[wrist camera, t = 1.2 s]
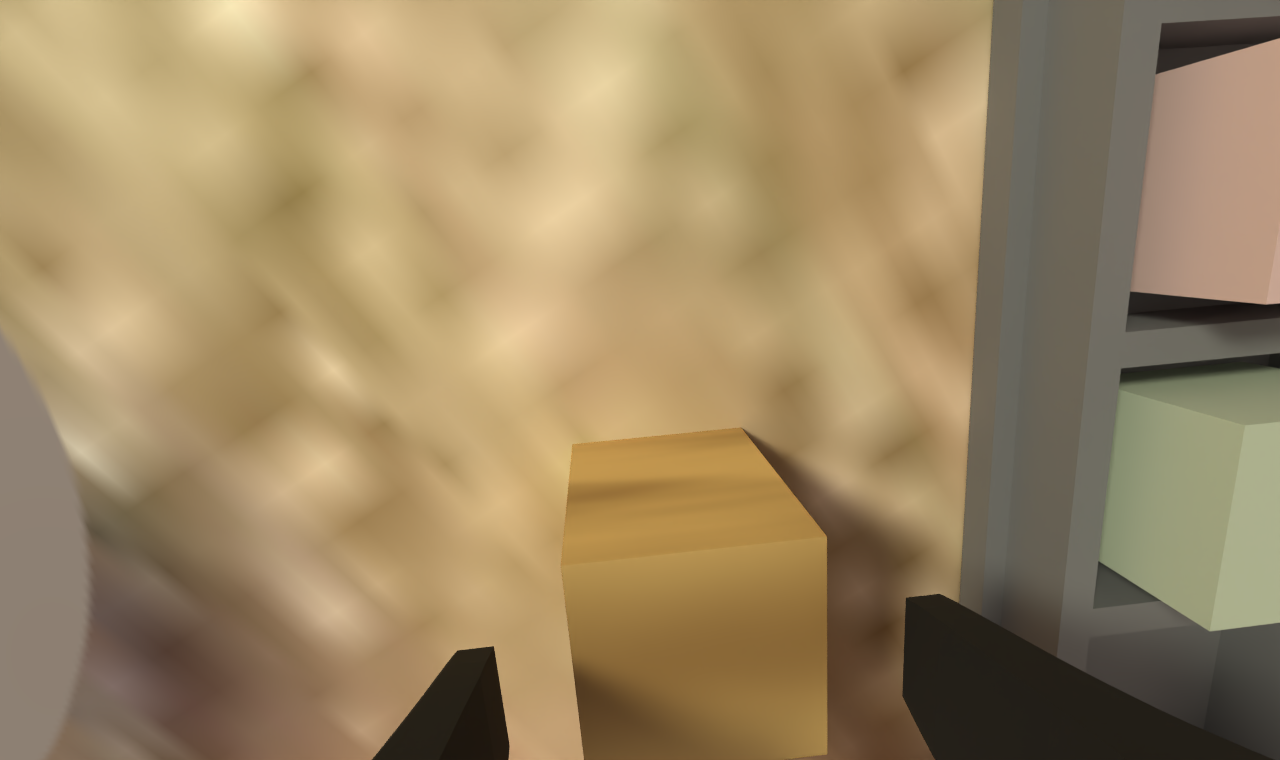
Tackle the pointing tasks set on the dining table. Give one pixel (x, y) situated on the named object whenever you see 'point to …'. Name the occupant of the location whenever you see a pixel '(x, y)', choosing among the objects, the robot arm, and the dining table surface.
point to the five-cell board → (1133, 352)
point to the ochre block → (693, 602)
